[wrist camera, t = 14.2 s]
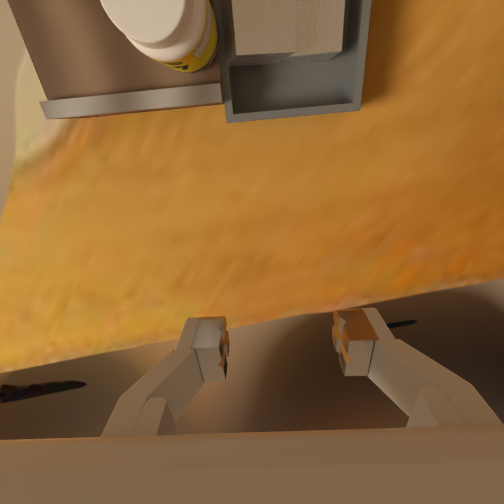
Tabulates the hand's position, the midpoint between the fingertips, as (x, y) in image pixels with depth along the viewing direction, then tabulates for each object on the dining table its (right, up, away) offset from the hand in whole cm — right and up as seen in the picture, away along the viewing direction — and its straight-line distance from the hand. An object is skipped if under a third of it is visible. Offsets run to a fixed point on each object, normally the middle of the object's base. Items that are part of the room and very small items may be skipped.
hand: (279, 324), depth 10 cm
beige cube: (+1, +20, +9) cm, 22 cm away
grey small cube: (-1, +19, +9) cm, 21 cm away
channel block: (-11, +20, +12) cm, 26 cm away
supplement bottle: (-6, +19, +8) cm, 21 cm away
